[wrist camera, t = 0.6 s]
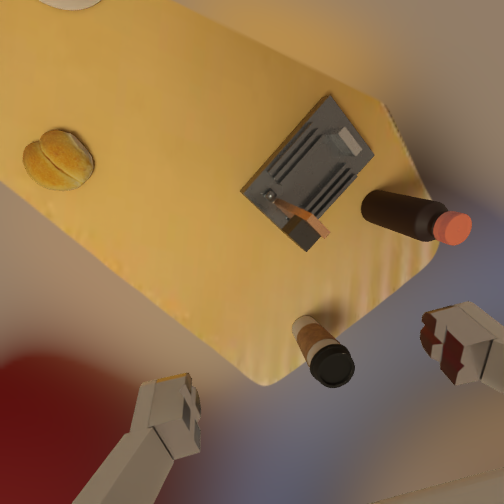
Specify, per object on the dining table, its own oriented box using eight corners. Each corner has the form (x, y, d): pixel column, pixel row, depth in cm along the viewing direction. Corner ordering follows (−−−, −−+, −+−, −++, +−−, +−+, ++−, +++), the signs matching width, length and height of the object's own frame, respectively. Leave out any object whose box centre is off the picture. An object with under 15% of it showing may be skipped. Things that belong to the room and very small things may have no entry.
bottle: (375, 227, 64) (457, 258, 46) (354, 212, 61) (431, 238, 43) (394, 200, 63) (485, 221, 45) (373, 183, 60) (460, 198, 42)
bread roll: (15, 156, 44) (1, 157, 41) (64, 122, 44) (55, 119, 41) (59, 201, 48) (49, 205, 44) (104, 169, 48) (99, 171, 44)
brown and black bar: (276, 228, 55) (309, 254, 41) (261, 215, 53) (291, 237, 40) (291, 211, 54) (330, 232, 41) (276, 197, 53) (312, 213, 39)
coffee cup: (300, 348, 70) (332, 397, 56) (279, 329, 66) (307, 375, 52) (327, 324, 69) (365, 368, 55) (306, 303, 66) (342, 344, 52)
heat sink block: (289, 238, 60) (302, 247, 54) (239, 191, 54) (247, 196, 48) (365, 154, 58) (387, 155, 52) (321, 97, 52) (341, 91, 46)
